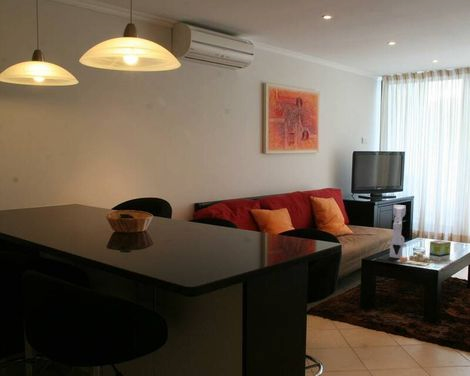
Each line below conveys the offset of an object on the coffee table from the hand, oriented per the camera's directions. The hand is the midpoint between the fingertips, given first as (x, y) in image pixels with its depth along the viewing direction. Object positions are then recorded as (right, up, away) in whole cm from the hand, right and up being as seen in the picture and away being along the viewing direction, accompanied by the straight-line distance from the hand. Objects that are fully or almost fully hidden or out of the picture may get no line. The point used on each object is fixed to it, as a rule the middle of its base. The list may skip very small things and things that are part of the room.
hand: (396, 254), depth 379 cm
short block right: (+22, -6, -5) cm, 24 cm away
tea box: (+39, -6, +9) cm, 40 cm away
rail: (+10, -6, -7) cm, 14 cm away
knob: (+4, -5, -4) cm, 7 cm away
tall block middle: (+18, -6, -1) cm, 19 cm away
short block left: (+14, -6, +3) cm, 15 cm away
